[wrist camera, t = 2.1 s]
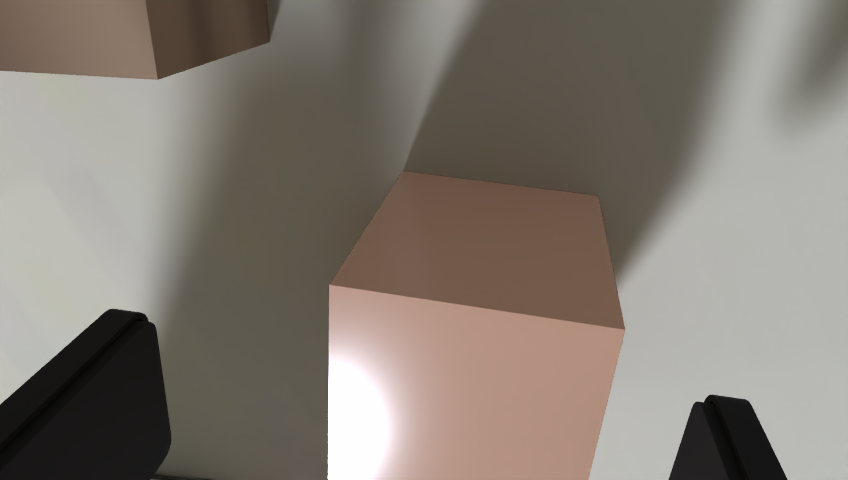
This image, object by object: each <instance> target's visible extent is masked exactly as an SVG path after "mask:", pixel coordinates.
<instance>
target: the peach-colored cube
mask: <svg viewBox="0 0 848 480" xmlns="http://www.w3.org/2000/svg"><path fill="white" fill-rule="evenodd" d="M624 332H625V327H624V322H623V317H622V312H621V307H620V302H619V297H618V292H617V287H616V282H615V277H614V272H613V267H612V262H611V257H610V252H609V247H608V242H607V237H606V232H605V227H604V222H603V217H602V212H601V207H600V202H599V197H598V196H596V195H588V194H580V193H573V192H565V191H557V190H549V189H541V188H533V187H525V186H517V185H509V184H502V183H494V182H486V181H478V180H470V179H462V178H454V177H446V176H438V175H431V174H423V173H415V172H407V171H403V172H402V173H401V175H400V176H399V178H398V179H397V181H396V182H395V184H394V185H393V187H392V189H391V190H390V192H389V193H388V195H387V196H386V198H385V199H384V201H383V202H382V204H381V206H380V207H379V209H378V210H377V212H376V213H375V215H374V216H373V218H372V219H371V221H370V222H369V224H368V226H367V227H366V229H365V230H364V232H363V233H362V235H361V236H360V238H359V239H358V241H357V243H356V244H355V246H354V247H353V249H352V250H351V252H350V253H349V255H348V256H347V258H346V259H345V261H344V263H343V264H342V266H341V267H340V269H339V270H338V272H337V273H336V275H335V276H334V278H333V280H332V281H331V283H330V284H329V404H328V480H588V479H589V475H590V471H591V467H592V463H593V458H594V454H595V450H596V446H597V442H598V438H599V434H600V430H601V426H602V422H603V418H604V414H605V410H606V406H607V402H608V398H609V393H610V389H611V385H612V381H613V377H614V373H615V369H616V365H617V361H618V357H619V353H620V349H621V345H622V341H623V337H624Z"/></svg>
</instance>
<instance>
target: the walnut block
mask: <svg viewBox="0 0 848 480" xmlns="http://www.w3.org/2000/svg"><path fill="white" fill-rule="evenodd" d="M268 42H269V29H268V17H267V5H266V0H0V71H16V72H34V73H51V74H68V75H86V76H103V77H120V78H138V79H155V80H158V79H161V78H164V77H167V76H170V75H173V74H176V73H179V72H182V71H185V70H188V69H191V68H194V67H197V66H200V65H203V64H206V63H209V62H212V61H214V60H217V59H220V58H223V57H226V56H229V55H232V54H235V53H238V52H241V51H244V50H247V49H250V48H253V47H256V46H259V45H262V44H265V43H268Z"/></svg>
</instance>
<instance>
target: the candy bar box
mask: <svg viewBox="0 0 848 480" xmlns="http://www.w3.org/2000/svg"><path fill="white" fill-rule="evenodd" d="M150 480H205V479H183V478H169V477H160V476H152V478H151V479H150Z"/></svg>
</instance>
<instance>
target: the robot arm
mask: <svg viewBox="0 0 848 480" xmlns="http://www.w3.org/2000/svg"><path fill="white" fill-rule="evenodd" d="M170 445H171V431H170V424H169V417H168V409H167V402H166V395H165V388H164V381H163V374H162V367H161V360H160V352H159V345H158V338H157V331H156V327H155V325H154V324H153V323H151V322H149V321H148V318H147V317H146V315H145V314H143V313H139V312H132V311H125V310H118V309H109V310H108V311H106V312H105V313H103V314H102V315H101V316H100V317H99V318H98V319H97V320H95V321H94V322H93V323H92V324H91V325H90V326H89V327H88V328H86V329H85V330H84V331H83V332H82V333H81V334H80V335H79V336H77V337H76V338H75V339H74V340H73V341H72V342H71V343H69V344H68V345H67V346H66V347H65V348H64V349H63V350H62V351H60V352H59V353H58V354H57V355H56V356H55V357H54V358H53V359H51V360H50V361H49V362H48V363H47V364H46V365H45V366H43V367H42V368H41V369H40V370H39V371H38V372H37V373H36V374H34V375H33V376H32V377H31V378H30V379H29V380H28V381H27V382H25V383H24V384H23V385H22V386H21V387H20V388H19V389H17V390H16V391H15V392H14V393H13V394H12V395H11V396H10V397H8V398H7V399H6V400H5V401H4V402H3V403H2V404H1V405H0V480H150V479H151V478H152V476H153V475H154V473H155V472H156V471H157V469H158V468H159V466H160V465H161V463H162V462H163V461H164V459H165V457H166V456H167V454H168V451H169V448H170ZM669 480H787V478H786V476H785V473H784V471H783V469H782V467H781V465H780V463H779V461H778V459H777V457H776V455H775V453H774V451H773V449H772V447H771V445H770V443H769V440H768V438H767V436H766V434H765V432H764V430H763V428H762V426H761V424H760V422H759V420H758V418H757V416H756V414H755V412H754V409H753V407H752V405H751V404H750V402H749V401H747V400H745V399H738V398H732V397H725V396H718V395H708V397H707V398H706V399H705V401H704V403H703V402H695V403H694V405H693V407H692V409H691V413H690V416H689V419H688V422H687V425H686V428H685V431H684V434H683V437H682V440H681V443H680V446H679V450H678V453H677V456H676V459H675V462H674V465H673V468H672V471H671V474H670V477H669Z"/></svg>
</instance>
